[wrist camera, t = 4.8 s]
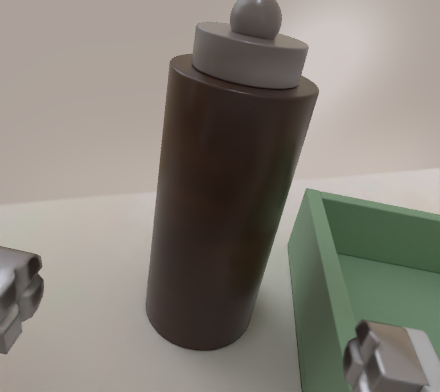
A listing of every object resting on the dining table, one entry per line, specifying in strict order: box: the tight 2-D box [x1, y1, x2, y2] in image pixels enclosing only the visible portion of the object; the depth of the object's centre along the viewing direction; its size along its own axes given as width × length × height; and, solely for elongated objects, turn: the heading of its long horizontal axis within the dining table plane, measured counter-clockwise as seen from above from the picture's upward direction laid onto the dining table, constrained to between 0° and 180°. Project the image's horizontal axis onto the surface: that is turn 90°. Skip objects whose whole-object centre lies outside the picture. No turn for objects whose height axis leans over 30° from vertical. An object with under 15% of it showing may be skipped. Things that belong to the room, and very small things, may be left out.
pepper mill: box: [146, 0, 319, 350], centre depth 15 cm, size 5×5×13 cm
